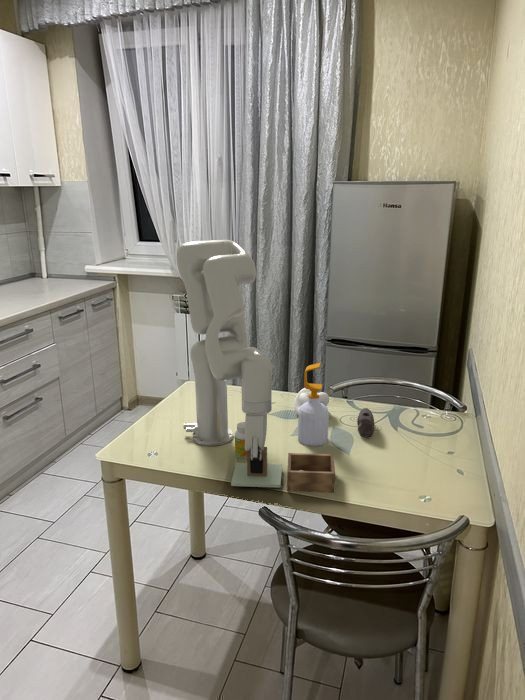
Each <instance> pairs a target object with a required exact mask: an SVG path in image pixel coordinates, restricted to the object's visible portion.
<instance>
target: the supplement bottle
mask: <svg viewBox="0 0 525 700" xmlns="http://www.w3.org/2000/svg"><path fill="white" fill-rule="evenodd" d="M234 454H235V455H234V456H235V457H237V458H239V459H247V451H246V450H245V421H241V422H238V423H236V431H235V432H234Z"/></svg>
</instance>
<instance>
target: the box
mask: <svg viewBox="0 0 525 700" xmlns="http://www.w3.org/2000/svg"><path fill="white" fill-rule="evenodd" d="M334 456H335V455H334V454H330V453H304V452H303V453H301V452H300V453H299V452H288V454H287V470H286V472H287V473H286V474H287V476H286V477H287V478H286V482H287V484H286V491H287V492H300V493H301V492H303V493H304V492H305V493H306V492H307V493H326V494H327V493H332V494H334V493H335V492H336V491H335V490H336V466H335V458H334ZM299 470H303V471H299Z"/></svg>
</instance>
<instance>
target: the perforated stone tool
mask: <svg viewBox="0 0 525 700" xmlns="http://www.w3.org/2000/svg"><path fill="white" fill-rule="evenodd" d="M357 432H358V434H359V436H360V437H363V438H368V439H369V438H372V437H373V436H374V433H375V419H374V415H373V413H372V410H370V409H369V408H367V407H364V408H362V409H361V410H360V411H359V413H358V415H357Z"/></svg>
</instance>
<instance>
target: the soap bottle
mask: <svg viewBox="0 0 525 700" xmlns="http://www.w3.org/2000/svg"><path fill="white" fill-rule="evenodd" d="M320 368H321V362H318V363H313V364H310V365H308V366H306V368H305V370H304V374H303V375H304V376H303V388H305V389H310V391H311V394H309V395H308V402H306V403H304V404H303V405H301V406H300V408H299V416H298V415H297V417H298V420H297V421H298V423H297V424H298V425H297V426H298V430H297V431H298V432H297V436H298V437H297V439H298V442H299V443H301V444H302V445H304V446H308V447H319V446H324V445H325V444H327V442H328V441H329V416H330V415H329V414H330V413H329V412H330V411H329V409H328V407H327V406H325V405H324V404H323V403H320V402H319V394H317V393H318V392H319V391H321V390H322V389H323V388H322V387H323V384H321V383H309V382H308V372H310V371H313V370H317V369H320Z"/></svg>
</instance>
